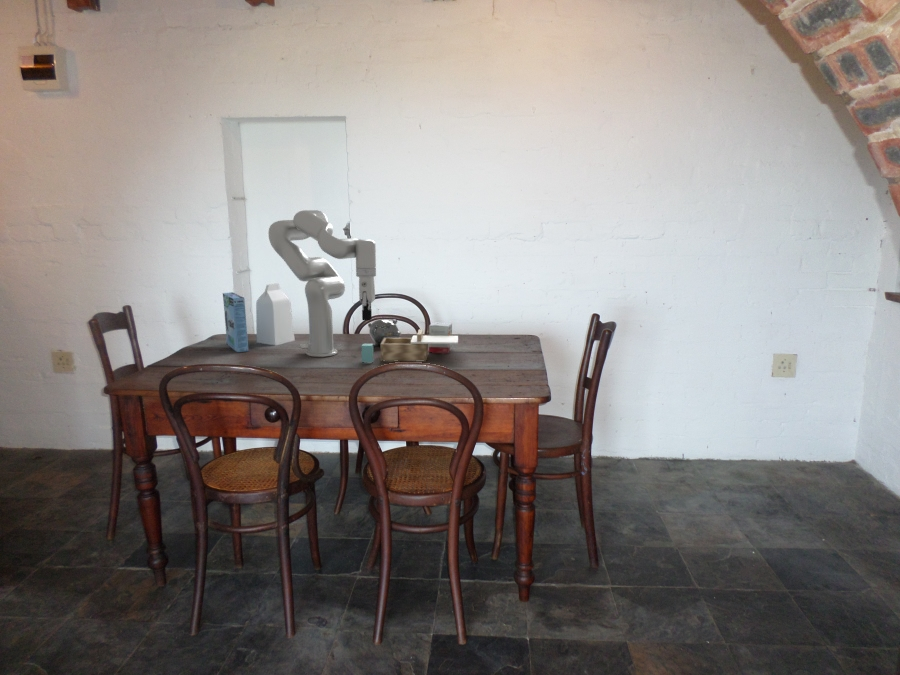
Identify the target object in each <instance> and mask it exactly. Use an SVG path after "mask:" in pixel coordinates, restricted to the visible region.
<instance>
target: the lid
mask: <svg viewBox="0 0 900 675" xmlns="http://www.w3.org/2000/svg"><path fill="white" fill-rule="evenodd" d="M411 338H412V339H411V344H428V345H429V344H452V345H458V344H459V335H452V336H429V335H424V330H423V329H418V330H417V334H416V335H415V334H414V335H412V337H411Z"/></svg>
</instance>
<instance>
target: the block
mask: <svg viewBox="0 0 900 675" xmlns="http://www.w3.org/2000/svg"><path fill="white" fill-rule="evenodd" d="M373 360H374V343H362V345H361V363H362V362H374V361H373Z"/></svg>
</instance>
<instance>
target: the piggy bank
mask: <svg viewBox="0 0 900 675" xmlns="http://www.w3.org/2000/svg"><path fill="white" fill-rule="evenodd" d="M397 323H398V320H397V319H391V320H389V319H385V318H384V319H383V318H381V319H377V320H375V321H373V322H369V323H367V326H368V328H369V336H370V338H371V340H372V341H373V342H374V347H379V346H380V344H381V342H382V341H383V339H384V338H401V336H402V333H401V331H400V330H399V327H398V326H397Z"/></svg>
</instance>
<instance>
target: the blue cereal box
mask: <svg viewBox="0 0 900 675" xmlns="http://www.w3.org/2000/svg"><path fill="white" fill-rule="evenodd" d="M222 299H223V311H224V323H225V334H226V335H225V336H226V337H225V338H226V344H227V345H228V346H229V347H230V348H232V350H234V351H235V352H236V353H243V352H244V353H245V352H249V342H248V341H249V340H248V325H247V315H246V303H245V302H246V301H245V297H243V296H241V295H239V294H237V293H235V292H234V291H233V292H232V291H231V292H223V293H222Z"/></svg>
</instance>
